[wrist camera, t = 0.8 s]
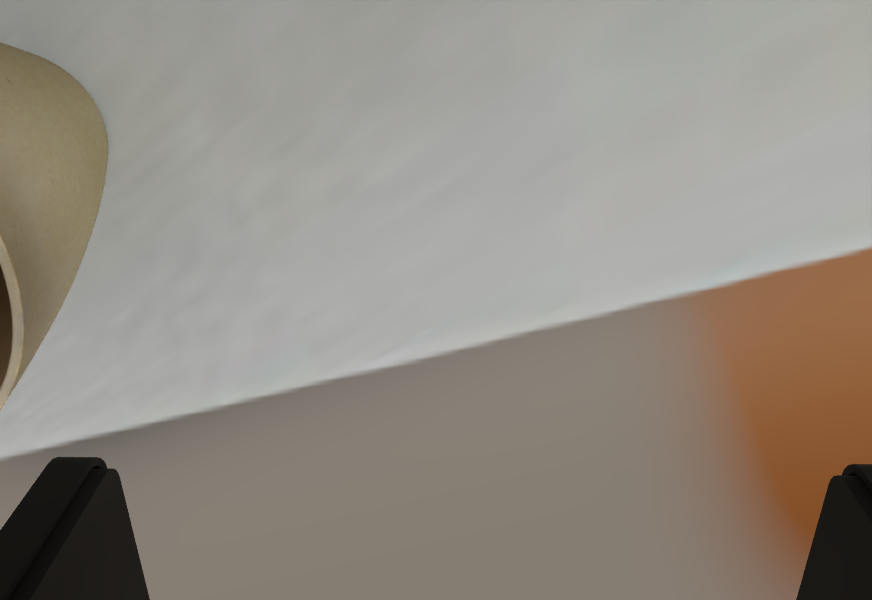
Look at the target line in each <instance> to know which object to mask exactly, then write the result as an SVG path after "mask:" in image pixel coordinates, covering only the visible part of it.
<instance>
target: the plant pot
mask: <svg viewBox="0 0 872 600" xmlns="http://www.w3.org/2000/svg"><path fill="white" fill-rule="evenodd" d="M107 160H108V138H107V132H106V128H105V124H104V121H103V118H102V116H101V113H100V111H99V109H98V107H97V105H96V104H95V102H94V100H93V99H92V97H91V96H90V95H89V93H88V92H87V91H86V89H85V88H84V87H83V86H82V85H81V84H80V83H79V82H78V81H77V80H76V79H75V78H74V77H72V76H71V75H70V74H69V73H68V72H66V71H65V70H63V69H62V68H61V67H59V66H57V65H56V64H54V63H52V62H50V61H48V60H46V59H44V58H41V57H39V56H37V55H34V54H31V53H29V52H26V51H23V50H21V49H18V48H15V47H12V46H9V45H6V44H3V43H0V410H1V408H2V406H3V405H4V403H5V402H6V400H7V399H8V397H9V395H10V394H11V392H12V391H13V389H14V388H15V386H16V384H17V383H18V381H19V380H20V378H21V377H22V375H23V373H24V371H25V370H26V368H27V366H28V365H29V363H30V361H31V360H32V358H33V356H34V355H35V353H36V351H37V350H38V348H39V346H40V344H41V343H42V341H43V339H44V338H45V336H46V334H47V333H48V331H49V329H50V327H51V325H52V323H53V321H54V319H55V318H56V316H57V314H58V312H59V310H60V308H61V306H62V304H63V303H64V301H65V298H66V296H67V294H68V292H69V290H70V287H71V285H72V283H73V281H74V278H75V276H76V273H77V271H78V269H79V266H80V264H81V261H82V259H83V256H84V253H85V251H86V248H87V245H88V242H89V240H90V237H91V234H92V231H93V227H94V224H95V221H96V217H97V214H98V211H99V207H100V202H101V198H102V193H103V188H104V184H105V176H106V169H107Z"/></svg>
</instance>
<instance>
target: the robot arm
mask: <svg viewBox="0 0 872 600" xmlns="http://www.w3.org/2000/svg"><path fill="white" fill-rule="evenodd" d="M0 600H150V599H149V595H148V591H147V587H146V583H145V578H144V574H143V570H142V566H141V562H140V558H139V554H138V550H137V546H136V542H135V538H134V534H133V530H132V526H131V522H130V517H129V513H128V509H127V505H126V501H125V497H124V493H123V489H122V485H121V481H120V477H119V474H118V472H117V471H116V470H115V469H107V466H106V464H105V462H104V461H103V460H102V459H101V458H97V457H57V458H54V459H52V460H51V461H50V462H49V463H48V465H47V466H46V467H45V469H44V470H43V472H42V473H41V474H40V476H39V477H38V478H37V480H36V481H35V483H34V484H33V485H32V487H31V488H30V490H29V491H28V493H27V494H26V495H25V497H24V498H23V499H22V501H21V502H20V504H19V505H18V506H17V508H16V509H15V511H14V512H13V513H12V515H11V516H10V518H9V519H8V520H7V522H6V523H5V525H4V526H3V527H2V529H1V530H0ZM796 600H872V464H871V465H870V464H869V465H868V464H867V465H866V464H852V465H848V466H847V467H846V468H845V469H844V471H843V473H842V476H833V478H832V479H831V480H830V483H829V485H828V489H827V492H826V496H825V500H824V503H823V506H822V510H821V514H820V517H819V521H818V524H817V528H816V532H815V535H814V539H813V542H812V546H811V549H810V553H809V556H808V560H807V564H806V567H805V571H804V575H803V578H802V581H801V585H800V589H799V592H798V596H797V599H796Z"/></svg>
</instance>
